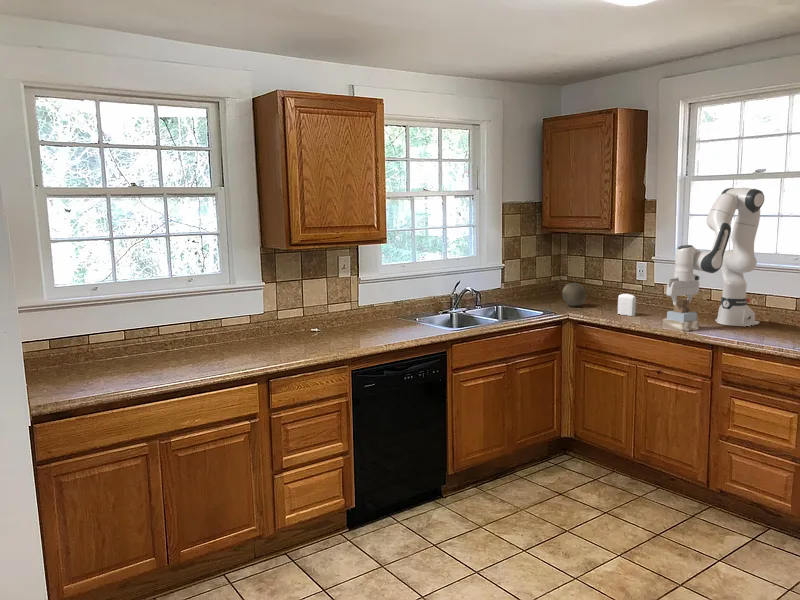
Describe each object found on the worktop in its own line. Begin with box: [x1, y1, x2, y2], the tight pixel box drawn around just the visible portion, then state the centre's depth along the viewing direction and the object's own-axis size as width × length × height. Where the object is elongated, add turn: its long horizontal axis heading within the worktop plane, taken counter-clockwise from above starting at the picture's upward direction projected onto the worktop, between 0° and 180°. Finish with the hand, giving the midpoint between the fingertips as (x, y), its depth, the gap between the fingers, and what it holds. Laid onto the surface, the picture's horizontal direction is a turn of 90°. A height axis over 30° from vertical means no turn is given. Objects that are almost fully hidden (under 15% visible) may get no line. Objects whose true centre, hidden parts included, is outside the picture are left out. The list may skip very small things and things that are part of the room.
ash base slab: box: [662, 318, 700, 332], centre depth 329 cm, size 12×12×5 cm
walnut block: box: [673, 299, 690, 313], centre depth 329 cm, size 5×5×6 cm
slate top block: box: [666, 310, 698, 322], centre depth 329 cm, size 10×10×4 cm
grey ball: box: [561, 282, 587, 308], centre depth 398 cm, size 14×14×15 cm
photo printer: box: [617, 293, 637, 317], centre depth 368 cm, size 10×4×12 cm, turn 39°
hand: (681, 303), depth 329 cm, fingers open, 8 cm apart
